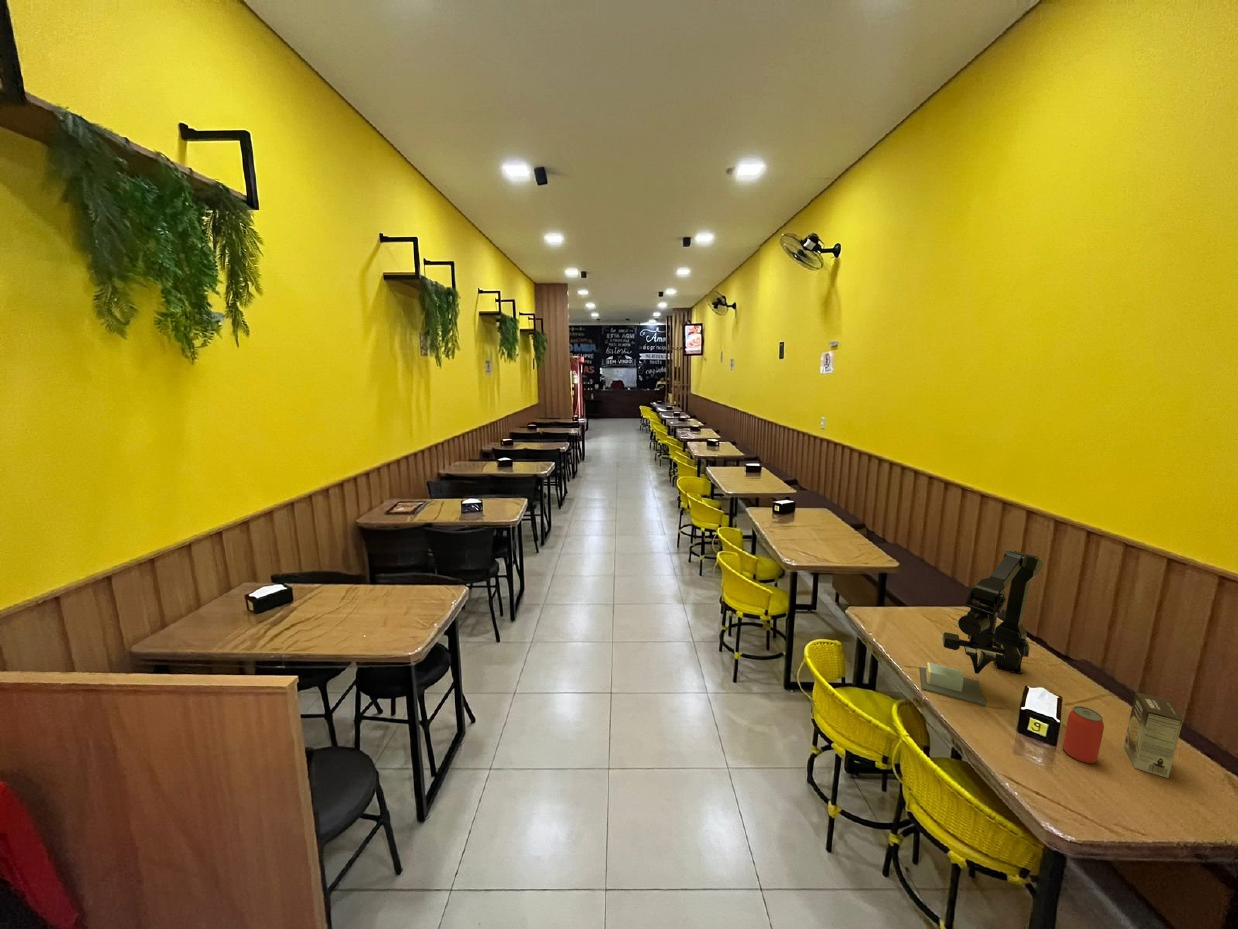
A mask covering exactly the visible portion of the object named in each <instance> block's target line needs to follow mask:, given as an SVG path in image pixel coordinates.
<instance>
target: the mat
mask: <svg viewBox="0 0 1238 929" xmlns="http://www.w3.org/2000/svg"><path fill="white" fill-rule="evenodd" d="M926 669H927V667H922V666H919V676H920V684H921V690H923V691H924V692H928V693H933V694H937V695H940V696H944V697H948V698H953V699H956V700H960V701H963V702H966V703H967V702H968V703H971V704H975V705H979V706H983V707H986V705H987V704H986V701H985V697H984V694H983V691H982V688H981V685H980V681H979V680H977V679H972V678H968V677H963V687H962V692H959V691H955V690H951V689H947V688H943V687H939V686H935V685H932V684H928V683H927V678H926Z"/></svg>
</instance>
